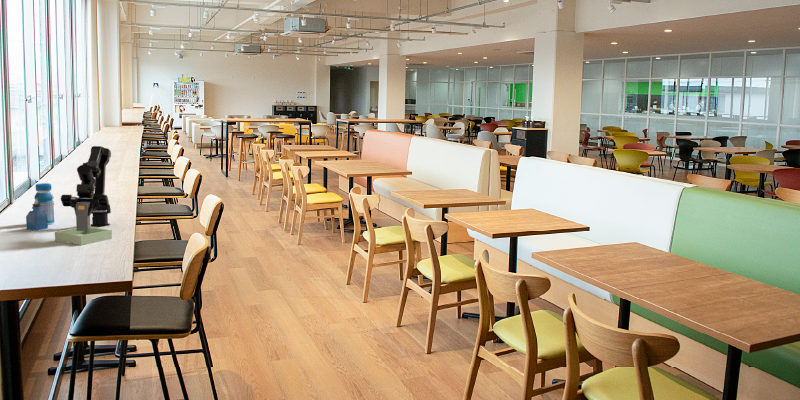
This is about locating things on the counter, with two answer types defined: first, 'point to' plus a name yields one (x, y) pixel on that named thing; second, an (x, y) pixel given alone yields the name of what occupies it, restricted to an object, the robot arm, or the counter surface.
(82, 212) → the grey square pillar
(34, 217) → the perfume bottle
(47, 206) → the beverage bottle
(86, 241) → the pale green tray
